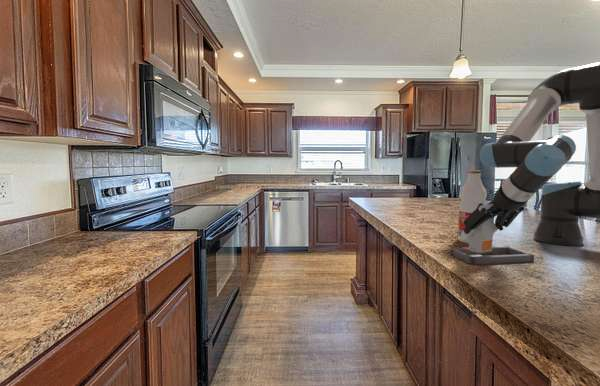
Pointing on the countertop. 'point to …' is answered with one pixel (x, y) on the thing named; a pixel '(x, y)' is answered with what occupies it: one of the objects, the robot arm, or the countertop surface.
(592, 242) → the countertop surface
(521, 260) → the slide track
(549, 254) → the countertop surface
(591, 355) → the countertop surface
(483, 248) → the skincare box
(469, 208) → the fruit juice
